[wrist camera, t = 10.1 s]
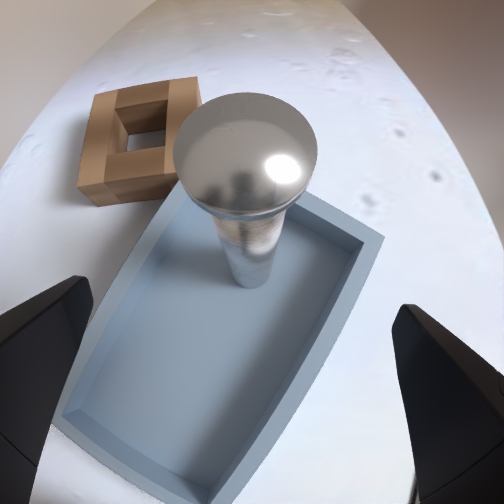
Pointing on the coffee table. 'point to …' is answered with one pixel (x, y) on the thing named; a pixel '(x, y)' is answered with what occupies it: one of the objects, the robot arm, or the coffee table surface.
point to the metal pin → (246, 174)
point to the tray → (210, 349)
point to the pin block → (116, 137)
